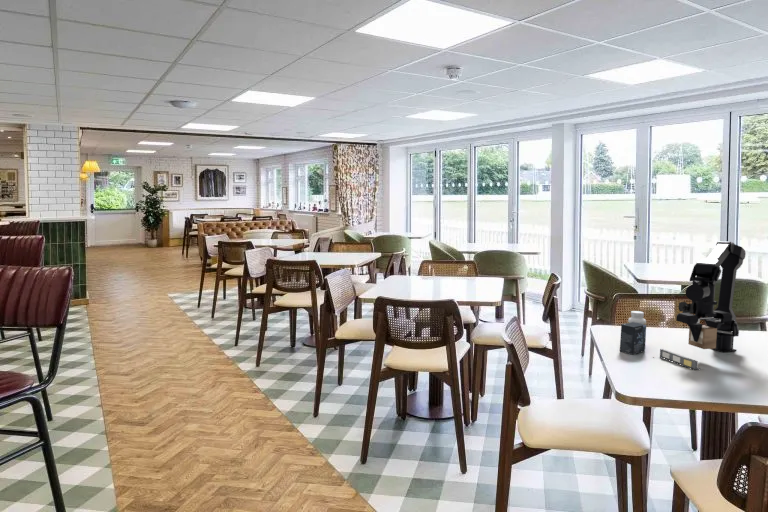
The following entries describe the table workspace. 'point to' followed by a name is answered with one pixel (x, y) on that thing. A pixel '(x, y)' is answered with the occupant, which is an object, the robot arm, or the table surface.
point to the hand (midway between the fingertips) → (702, 341)
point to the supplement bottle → (637, 317)
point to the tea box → (704, 338)
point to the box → (633, 338)
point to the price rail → (679, 359)
